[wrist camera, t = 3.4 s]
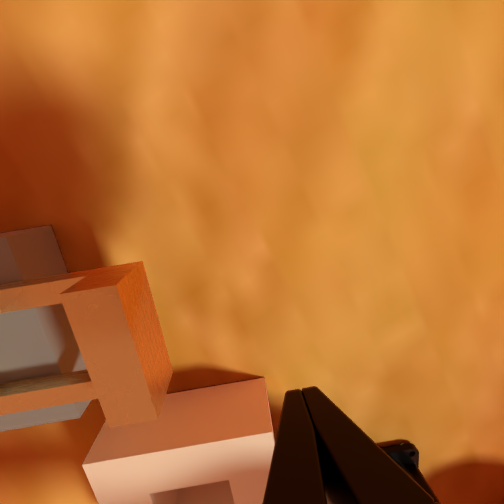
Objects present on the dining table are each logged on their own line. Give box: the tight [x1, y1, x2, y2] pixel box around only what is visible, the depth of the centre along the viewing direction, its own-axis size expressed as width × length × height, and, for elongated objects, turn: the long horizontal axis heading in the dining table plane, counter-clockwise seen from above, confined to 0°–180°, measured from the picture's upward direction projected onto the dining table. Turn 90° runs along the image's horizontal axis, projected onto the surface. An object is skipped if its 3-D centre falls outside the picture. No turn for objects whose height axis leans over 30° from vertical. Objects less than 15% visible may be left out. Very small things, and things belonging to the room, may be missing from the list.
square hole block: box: [82, 378, 275, 504], centre depth 17 cm, size 10×10×4 cm
